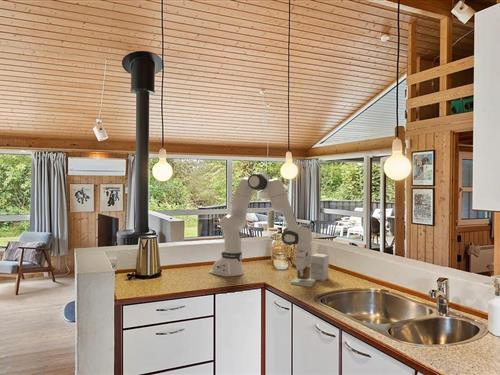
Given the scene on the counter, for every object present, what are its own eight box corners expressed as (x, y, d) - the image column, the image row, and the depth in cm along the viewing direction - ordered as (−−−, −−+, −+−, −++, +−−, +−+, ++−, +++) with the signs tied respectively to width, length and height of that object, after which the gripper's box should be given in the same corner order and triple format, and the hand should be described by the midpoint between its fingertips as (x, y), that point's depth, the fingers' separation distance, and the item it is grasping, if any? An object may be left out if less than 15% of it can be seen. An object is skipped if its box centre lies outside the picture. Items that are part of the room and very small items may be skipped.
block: (297, 278, 236) (297, 268, 236) (300, 276, 242) (300, 266, 242) (307, 279, 234) (307, 269, 234) (309, 277, 239) (309, 267, 239)
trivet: (290, 284, 235) (290, 281, 235) (296, 279, 246) (296, 277, 246) (310, 286, 230) (310, 284, 230) (315, 281, 241) (315, 279, 241)
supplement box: (315, 276, 255) (315, 253, 255) (328, 278, 251) (329, 254, 250) (309, 279, 248) (310, 255, 247) (323, 281, 243) (324, 257, 243)
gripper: (303, 248, 248) (303, 270, 249) (293, 253, 229) (293, 277, 230) (313, 249, 246) (313, 271, 246) (304, 255, 227) (303, 278, 227)
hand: (303, 274), depth 238 cm, fingers closed on block, 6 cm apart
